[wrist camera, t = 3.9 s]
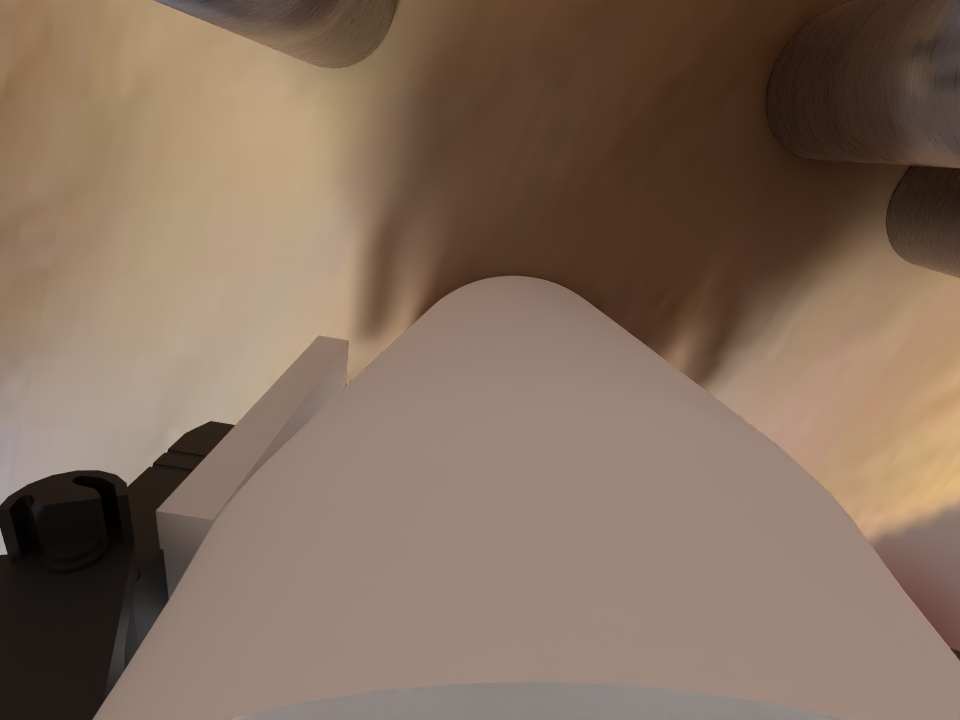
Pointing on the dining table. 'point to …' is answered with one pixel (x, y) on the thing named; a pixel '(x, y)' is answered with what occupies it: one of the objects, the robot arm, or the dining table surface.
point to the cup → (534, 551)
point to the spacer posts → (790, 95)
